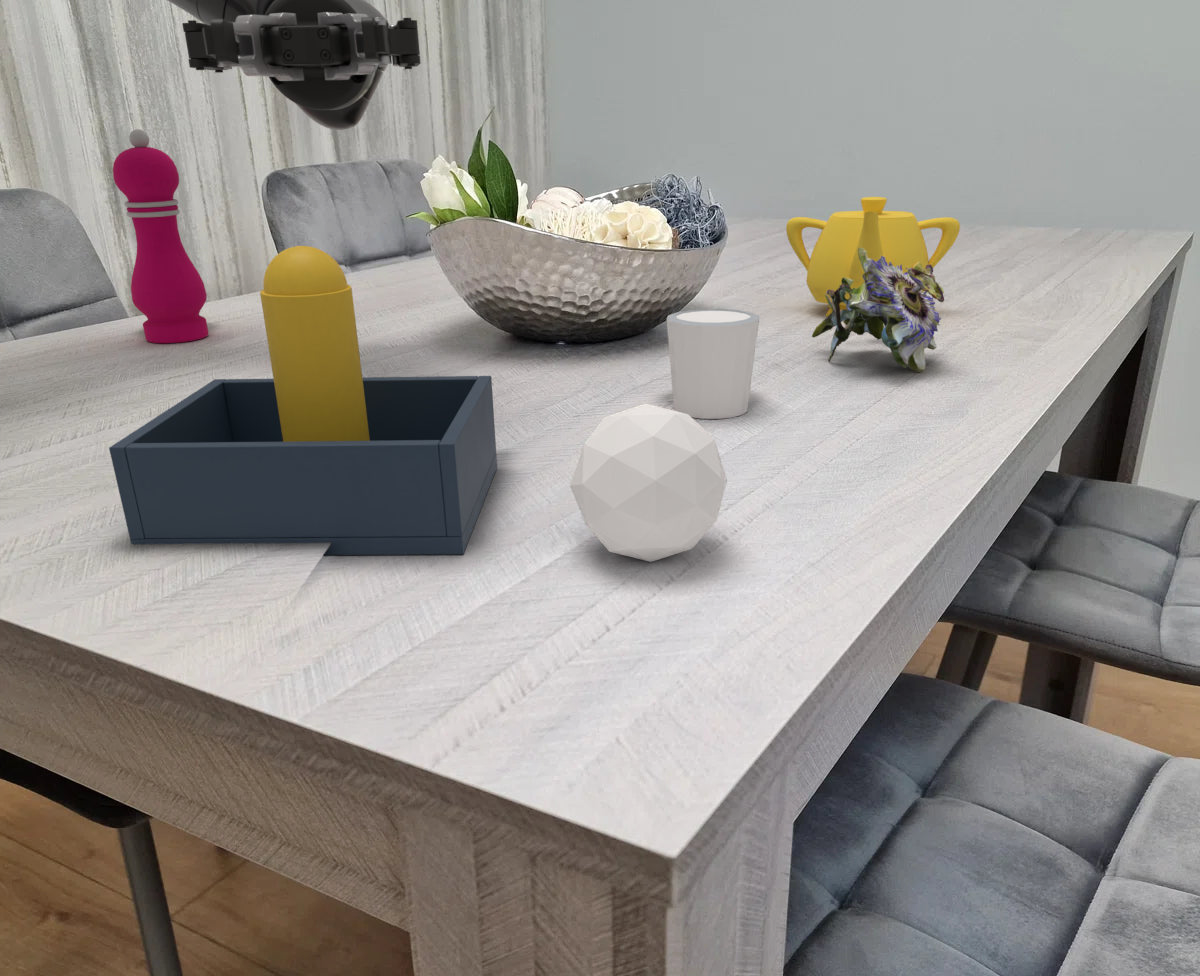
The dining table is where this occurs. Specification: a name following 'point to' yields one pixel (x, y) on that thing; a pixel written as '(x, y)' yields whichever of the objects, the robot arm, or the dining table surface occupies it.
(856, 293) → the passion flower
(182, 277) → the pepper mill
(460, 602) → the dining table surface
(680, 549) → the geometric ball
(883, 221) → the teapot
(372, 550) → the dark blue open box
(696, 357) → the shot glass
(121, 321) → the dining table surface
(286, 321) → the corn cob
